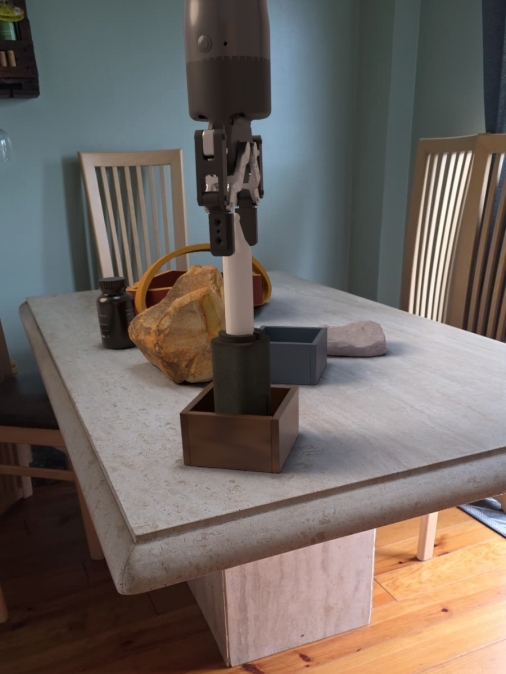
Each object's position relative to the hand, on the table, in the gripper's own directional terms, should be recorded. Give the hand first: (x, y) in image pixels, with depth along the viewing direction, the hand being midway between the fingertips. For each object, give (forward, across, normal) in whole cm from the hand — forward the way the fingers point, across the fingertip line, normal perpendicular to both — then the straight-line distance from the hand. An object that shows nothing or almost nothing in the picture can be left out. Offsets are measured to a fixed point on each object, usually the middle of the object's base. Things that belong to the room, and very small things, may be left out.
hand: (235, 250), depth 61 cm
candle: (+22, 0, 0) cm, 22 cm away
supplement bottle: (+22, +41, +35) cm, 58 cm away
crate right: (+22, +29, +1) cm, 36 cm away
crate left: (+22, 0, 0) cm, 22 cm away
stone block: (+22, +43, -7) cm, 49 cm away
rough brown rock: (+22, +29, +18) cm, 40 cm away
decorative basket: (+22, +70, +28) cm, 78 cm away
